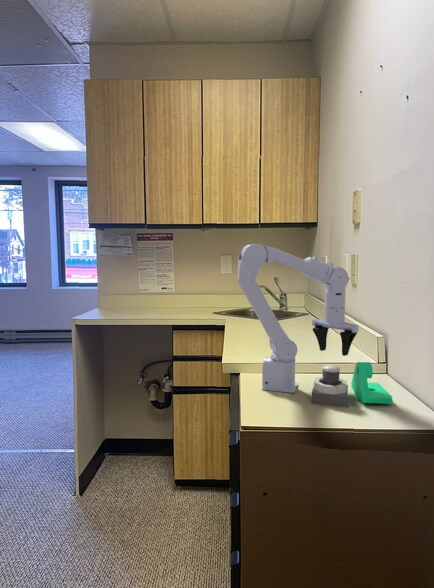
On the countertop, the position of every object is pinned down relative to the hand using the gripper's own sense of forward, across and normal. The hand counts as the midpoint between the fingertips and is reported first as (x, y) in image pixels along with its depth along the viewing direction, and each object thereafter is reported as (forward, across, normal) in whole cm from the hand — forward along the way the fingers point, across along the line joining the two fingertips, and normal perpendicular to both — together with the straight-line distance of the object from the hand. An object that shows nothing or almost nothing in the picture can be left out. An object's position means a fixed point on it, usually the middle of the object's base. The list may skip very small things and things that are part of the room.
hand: (333, 352), depth 117 cm
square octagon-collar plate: (+10, -5, +10) cm, 15 cm away
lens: (+7, -5, +10) cm, 13 cm away
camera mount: (+11, -12, 0) cm, 16 cm away
